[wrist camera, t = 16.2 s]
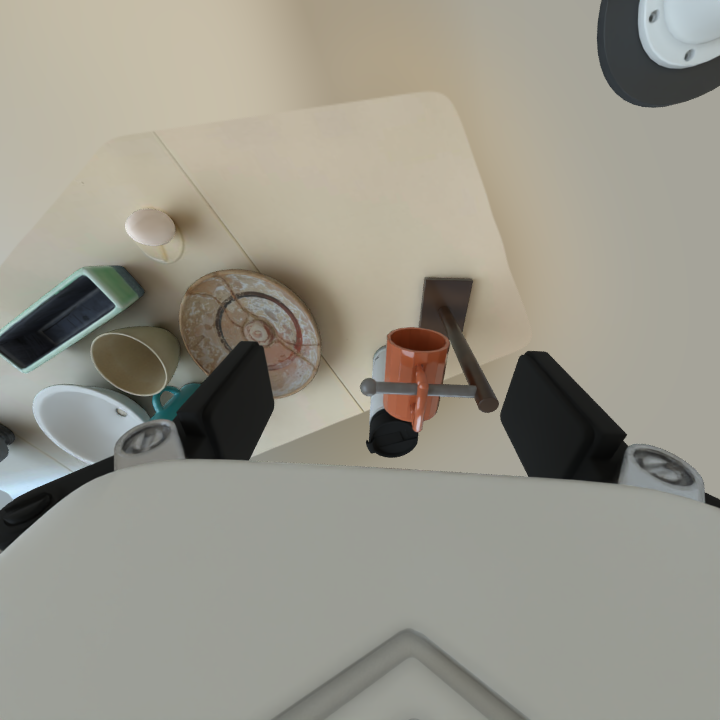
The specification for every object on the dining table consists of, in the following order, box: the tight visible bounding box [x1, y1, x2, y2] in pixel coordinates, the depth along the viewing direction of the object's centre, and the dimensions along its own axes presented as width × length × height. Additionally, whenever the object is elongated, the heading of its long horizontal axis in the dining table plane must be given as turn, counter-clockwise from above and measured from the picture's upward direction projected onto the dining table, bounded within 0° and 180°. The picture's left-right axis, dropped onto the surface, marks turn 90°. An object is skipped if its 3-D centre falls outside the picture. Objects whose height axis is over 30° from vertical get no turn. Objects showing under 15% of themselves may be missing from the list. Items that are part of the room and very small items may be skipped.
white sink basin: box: [33, 384, 150, 465], centre depth 61 cm, size 24×24×7 cm
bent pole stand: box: [360, 278, 499, 413], centre depth 37 cm, size 10×15×24 cm, turn 90°
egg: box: [125, 208, 175, 246], centre depth 40 cm, size 5×5×7 cm
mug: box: [383, 327, 450, 432], centre depth 33 cm, size 11×7×9 cm
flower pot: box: [90, 326, 180, 396], centre depth 50 cm, size 12×12×9 cm
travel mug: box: [366, 346, 418, 458], centre depth 44 cm, size 6×7×20 cm
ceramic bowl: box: [179, 269, 321, 399], centre depth 49 cm, size 23×24×5 cm
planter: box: [0, 266, 145, 373], centre depth 48 cm, size 28×7×7 cm, turn 118°
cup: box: [149, 383, 201, 421], centre depth 55 cm, size 9×12×11 cm
